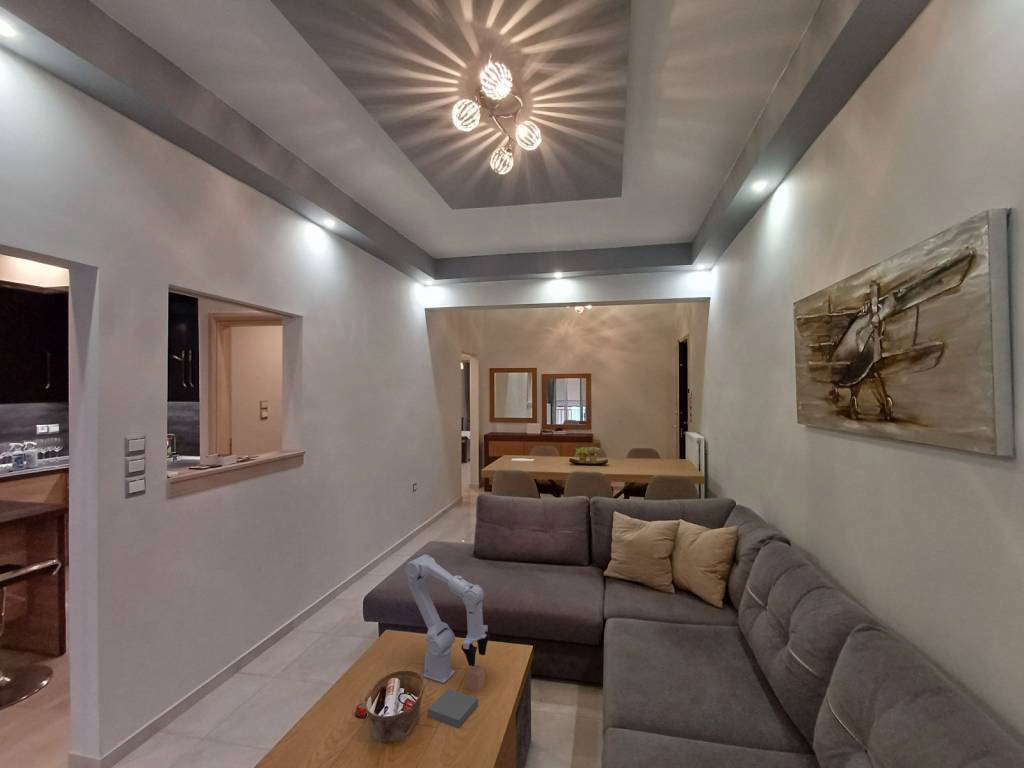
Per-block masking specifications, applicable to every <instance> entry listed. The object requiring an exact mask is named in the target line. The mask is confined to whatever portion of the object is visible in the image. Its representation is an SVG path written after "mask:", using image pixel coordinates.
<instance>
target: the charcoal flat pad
mask: <svg viewBox="0 0 1024 768" xmlns="http://www.w3.org/2000/svg"><path fill="white" fill-rule="evenodd" d="M478 706H479V698H477V697H475V696H472V695H469V694H465V693H463V692H459V691H456V690H453V689H451V688H447V689H446V690H445V691H444V692H443V693H442V694H441V695H440V696H439V697H438V698H437V699H436V700H435V701H434V702H433V703H432V704H431V705H430V706H429V707H428V709H427V718H430V719H433V720H435V721H438V722H441V723H443V724H446V725H449V726H452V727H454V728H457V729H460V728H461V727H462V726H463V724H464V723H465V722H466V721H467V720H468V718H469V717H470V716H471V715H472V713H474V711H475V710H477V707H478Z"/></svg>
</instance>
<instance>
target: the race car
mask: <svg viewBox="0 0 1024 768" xmlns="http://www.w3.org/2000/svg"><path fill="white" fill-rule="evenodd" d="M367 698H368V697H365V698H364V700H363V701H362V702H361V703H359V704H358V705H357V706H356V708H355V715H356V717H358V718H361V719H362V718H365V717H366V716H367V713H366V709H365V704H366V701H367ZM365 719H366V718H365Z"/></svg>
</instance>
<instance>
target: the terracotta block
mask: <svg viewBox="0 0 1024 768" xmlns="http://www.w3.org/2000/svg"><path fill="white" fill-rule="evenodd" d="M465 672H466V679H465V681H466V683H465V684H466V685H465V686H466V687H465V688H466V689H467V690H470V691H474V692H477V693H479V692H480V691H481V690H482V689H483V687H485V686H486V667H484V666H480V665H476V664H475V665H474V666H470V668H468V669H467V670H466V671H465Z"/></svg>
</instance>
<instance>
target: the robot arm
mask: <svg viewBox="0 0 1024 768" xmlns="http://www.w3.org/2000/svg"><path fill="white" fill-rule="evenodd" d="M404 573H405V576H406V578H407V585H408V586H409V587H408V588H409V589H410V592H411V594H412V596H413V599H414V601H415V602H416V603H415V604H416V606H417V607H418V609H419V612H420V615H421V616H422V619H423V620H424V624H425V626H426V628H427V632H426V636H425V639H426V640H425V641H426V642H427V650H426V653H425V655H424V674H423V675H422V677H424V678H427V679H430V680H433V681H436V682H439V683H443V684H445V683H446V682H447V681H448V680H449V679H450V678H451V677H452V676H453V675H455V673H456V670H455V669H452V648H453V647H452V645H453V644H454V643H455V639H456V636H455V634H454V631H453V630H452V629H451V628H450V627H449V625H448V623H446V622H443V621H442V620H441V618H440V615H439V614H438V611H437V608H436V607H435V604H434V602H433V600H432V598H431V594H430V593H429V592H428V589H427V587H426V585H425V581H426V578H427V576H431V577H434V578H436V579H437V580H439V581H440V582H443V584H446V585H447V586H448V587H447V588H448V590H449V591H450V592H452V593H454V594H455V595H456V596H458V597H460V599H462V602H463V604H464V605H465V610H466V623H467V624H466V625H467V628H466V629H467V634H466V636H465V639H464V641H463V642H462V645H461V650H462V651H463V653H464V655H465V657H466V660H467V664H468V666H470V667H471V666H474V665H476V664H475V663H476V654H477V651H478V654H479V655H480V656H485V655H486V651H487V646H488V643H489V639H490V637H491V633H490V632H488V631H489V628H488V627H489V626H488V625H487V624H484V616H483V615H484V614H483V613H484V612H483V601H482V600H483V599H485V590H484V588H483V587H482V586H481V585H479V584H473V583H470V582H469V581H467V580H465V579H464V578H463V576H462V575H458V574H457V575H454V576H453V575H452V573H451V574H450V572H448V571H447V570H446V569H445V568H443V567H442V566H440V565H439V564H438V563H437V562H436V560H435V559H434V557H432V556H430V555H429V554H426V553H425V554H424V553H423V554H422V555H421V556H419V557H417V558H415V559H413V560H411V561H408V562H407V564H406V565H405V568H404ZM475 642H477V646H474V643H475Z"/></svg>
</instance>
